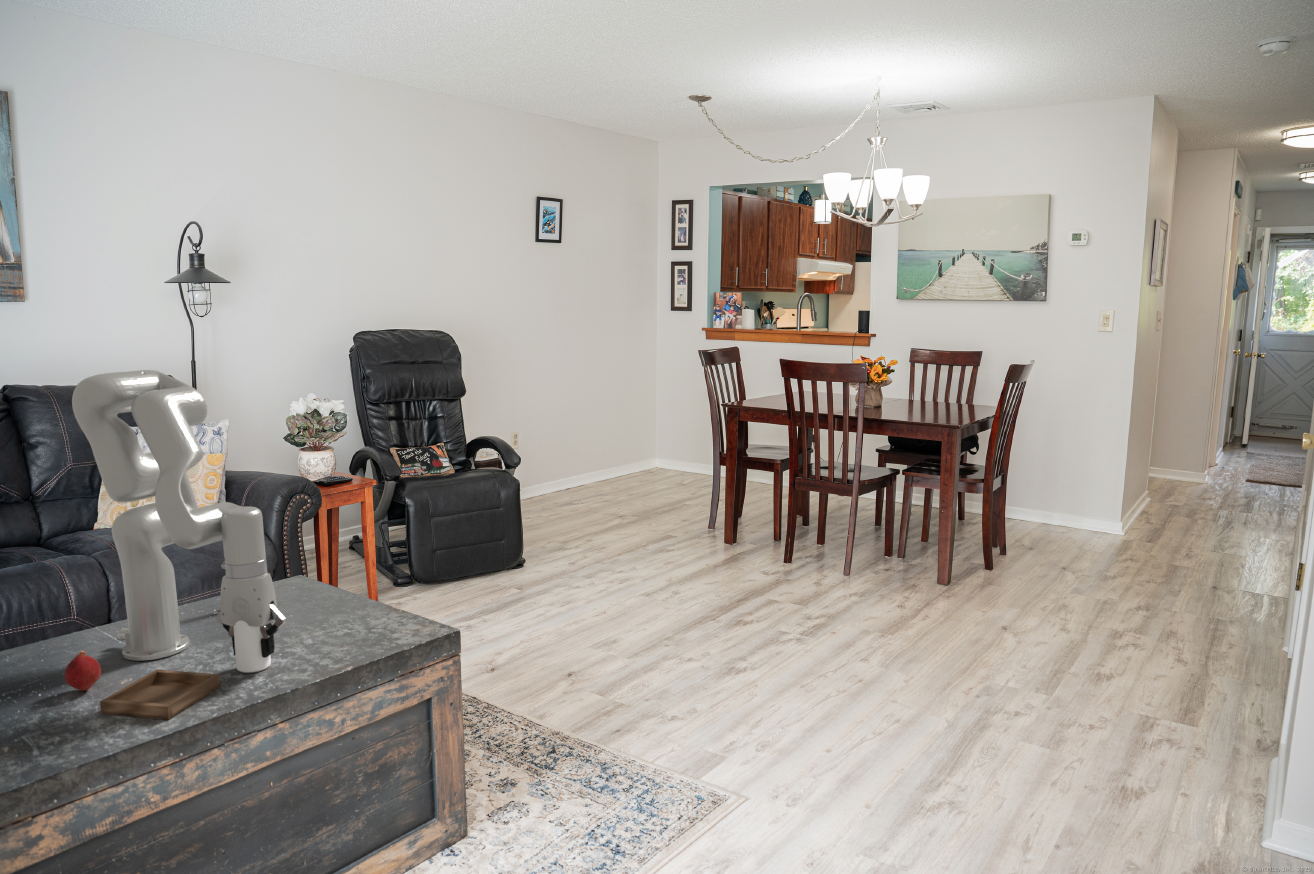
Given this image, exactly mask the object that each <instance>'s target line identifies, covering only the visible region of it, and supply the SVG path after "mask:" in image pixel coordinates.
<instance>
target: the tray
mask: <svg viewBox="0 0 1314 874" xmlns="http://www.w3.org/2000/svg"><path fill="white" fill-rule="evenodd" d="M221 687H222V684H221V674H220V673H219V674H218V673H206V672H195V671H183V670H181V671H180V670H167V669H155V670H153V671H150V673H148V674H146V675H144V676H143V677H140V678H139V679H137V680H136V681H133V682H131V683H130V684H129V685H126V686H124V687H122V688H121V689H119V690H117V691H116V692H113V693H112V694H110V695H108V696H107V697H105V698H103V699H102V700H100V701H99V704H100V706H99V707H100V714H101V715H104V716H105V715H106V716H107V715H109V716H118V717H131V718H139V719H140V718H142V719H154V720H164V721H169V720H171V719H173V718H175V717H176V716H178V715H180V714H181V713H182V712H184V711H185V710H187V709H188V708H190V707H191V706H193V705H195V704H197V702H199V701H201V700H202V699H203V698H205V697H207V696H209V695H210V694H212V693H213V692H214V691H216V690H217V689H219V688H221Z"/></svg>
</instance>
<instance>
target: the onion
mask: <svg viewBox="0 0 1314 874" xmlns="http://www.w3.org/2000/svg"><path fill="white" fill-rule="evenodd" d="M101 674H102V668H101V664H100V663H99V662H98V660H96V658H94V657H92V656H90V655H87V654H86V651H84V650H81V651H80V652H79V653H77V654H76V656H75V657H74V658H73V659H71V660H70V661H69V663H68V664H67V665H66V667H65V672H64V679H65V682H66V684H67V685H68V686H69V687H71V688H73V689H75V690H79V691H81V692H86V691H89V690H90V689H91V688H92V686H94V684H96V683H97V681H99V679H100V677H101Z"/></svg>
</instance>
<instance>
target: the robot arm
mask: <svg viewBox="0 0 1314 874" xmlns="http://www.w3.org/2000/svg"><path fill="white" fill-rule="evenodd" d="M72 393H73V394H72V397H71V398H72V399H71V404H72V411H73V415H74V418H75V419H76V422H77V424H78V425H79V428H80V429H81V431H82V432H83V434H84V435H85V437H86V440H87V441H88V442H89V445H90V447H91V449H92V450H91V451H92V454H93V457H94V461H95V463H96V465H97V469H98V472H99V475H100V478H101V480H102V483H103V486H104V489H105V491H106V493H107V495H108V497H109V498H110V499H111V500H113V501H114V502H116V503H120V504H121V503H122V504H125V503H133V502H137V501H142V500H146V499H149V498H154V497H155V498H154V502H153V503H149V504H144V505H140V506H137V507H134V508H133V507H132V508H130V509H128V510H126V511H123V512H122V513H120V514H119V515H118V516H117V517H116V518H115V519H114V520H113V522H112V524H111V536H112V540H113V542H114V546H115V549H116V551H117V554H118V559H119V563H120V568H121V575H122V585H123V592H124V601H125V609H126V619H127V627H122V628H121V629H120V630H119V631H118V634H116V636H115V639H116V641H120V642H121V641H123V642H124V641H125V646H124V647H123V649H122V653H121V654H122V657H123V658H124V659H125V660H128V661H136V662H139V661H142V662H143V661H145V662H146V661H154V660H158V659H159V660H160V659H163V658H164V659H165V658H167V657H170V656H173V655H176V654H179V653H181V652H183V651H184V650H186V649H187V648H188V647H189V646H190V644H191V643H190V637H188V636H187V635H184V634H182V633H181V626H180V616H179V615H180V614H179V608H178V607H179V606H178V597H177V588H176V587H177V585H176V577H175V576H176V575H175V568H174V566H173V563H172V561H171V560H170V559H169V557H168V556H167V555H166V554H165V553H164V551H163V549H162V548H165V547H166V546H170V545H173V544H175V545H176V546H178V547H180V548H181V549H185V550H193V549H197V548H201V547H204V546H208V545H210V544H214V543H217V542H220V541H222V544H223V545H222V546H223V547H222V548H223V556H224V558H223V559H224V561H223V562H222V563H221V565H220V566H221V569H224V570H225V575H224V576H222V580H221V586H220V599H219V600H220V611H219V612H218V614H217V615H216V616H215V620H216V621H217V622H218V623H219V624H220V625H222V627H223V628H224V630H226V632H227V633H228V634H227V635H228V636H229V637H231V641H232V649H233V651H232V652H233V656H234V657H235V641H234V625H235V624H236V622H237V621H244V622H246V623H247V624H248V626H251V627H260V631H261V633H262V636H263V638H262V639H261V651H262V657H264V658H266V657H268V656H269V655H270V656H271V655H273V654H274V653H275V648H276V647H275V634H277V632H278V630H279V629H280V628H281V627H282V626H283V625H284V624H285V623H286V622H287V618H286V617H285V616H284V615H283V613H282V611H280V610H279V609H278V602H277V595H276V590H275V587H274V582H273V579H272V576H271V573H270V572H268V564H267V555H266V554H267V553H266V543H265V541H266V540H265V531H264V521H263V520H264V517H263V513H262V511H261V509H259V508H258V507H255V506H241V505H240V504H239V505H238V504H235V503H233V502H228V501H222V502H216V503H213V504H210V505H205V506H200V507H199V505H198V503H197V501H196V497H195V494H194V491H193V488H192V485H191V482H190V479H189V476H188V474H187V473H188V471H189V470H191V469H193V468H194V467H195V466H197V465H198V464H199V463H200V462H201V461H202V460H203V458H204V450H203V449H202V447H201V446H200V443H199V441H198V439H197V438H196V436H195V433H194V432H193V430H192V428H191V427H193V426H198V425H200V424H201V423H203V422H204V421H206V418H207V417H208V416H207V415H208V405H207V402H206V400H205V398H204V397H203V395H202V394H201V392H199V390H197V389H196V388H194V387H193V386H191V385H189V384H188V383H186V382H183V381H181V380H179V379H177V378H174V377H172V376H170V375H168V374H166V373H164V372H161V371H158V370H151V369H143V370H141V369H140V370H129V371H119V372H118V371H117V372H105V373H99V374H94V375H91V376H88V377H86V378H84V379H82V380H80V381H79V382H78V383H77V385H76V386H75V388H74V390H73V392H72ZM122 413H123V414H124V413H131V415H132V417H133V420H134V421H135V423H136V426H137V427H138V430H139V431H140V434H141V435H142V437H143V439H144V441H145V443H146V445H147V447H148V449H149V451H150V452H147V453H146V452H143V450H142V447H141V445H140V441H139V439H138V436H137V434H136V432H135V431H134V430H133V428H131V426H130V425H129V424H128V423H127V422H125V421H124V420H123V419H121V418H120V417H118V414H122ZM241 616H242V617H241ZM274 620H275V621H274ZM273 621H274V623H273ZM266 625H268V630H267V628H266Z"/></svg>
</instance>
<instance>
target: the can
mask: <svg viewBox="0 0 1314 874" xmlns="http://www.w3.org/2000/svg"><path fill="white" fill-rule="evenodd" d="M241 617H242V616H241ZM266 628H267V630H268V625H266ZM262 638H263V636H262V633H261V631H260V627H251V626H248V624H247V623H246V622H244V621H237V622H236V624H235V625H234V641H235V656H234V657H235V667H236V670H237V671H238V672H240V673H243V674H253V673H259V672H263V671H264V670H267V669H268V668H269V667H270V665H271V663H272V661H271V658H272V657H271V655H269V656H268V657H266V658H264V657H262V651H261V639H262Z"/></svg>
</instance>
